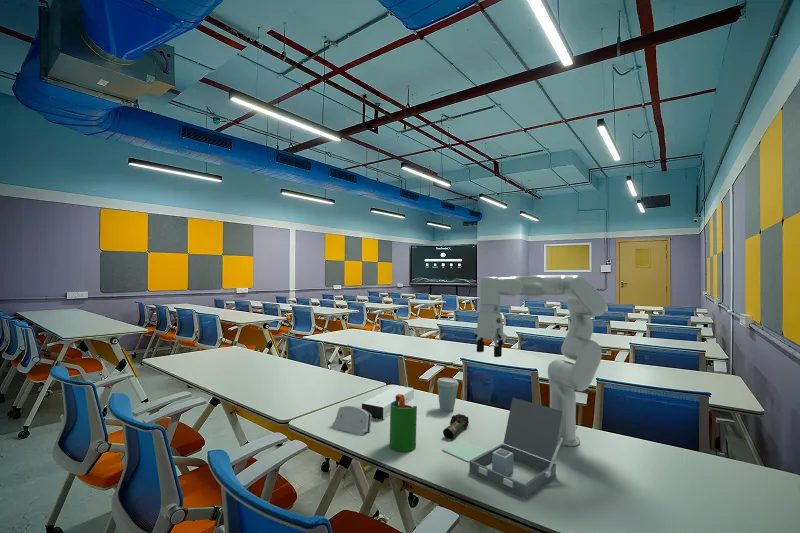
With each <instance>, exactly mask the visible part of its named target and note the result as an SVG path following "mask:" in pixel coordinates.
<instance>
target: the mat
mask: <svg viewBox="0 0 800 533" xmlns="http://www.w3.org/2000/svg"><path fill="white" fill-rule="evenodd" d="M441 451H443V452H444V453H447V454H449V455H451V456H454V457H455V458H458V459H460V460H462V461H465V463H469V464H470V461H471V460H473V459H475V458H476V457H478V456H480V455H482V454H484V453H486V452H487V451H488V449H485V448H482V447H480V446H478V445H474V444H472V443H470V442H467V441H465V440H459V441H457V442H455V443H453V444H450V445H448V446H447V447H444V448H442V449H441Z"/></svg>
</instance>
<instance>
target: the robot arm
mask: <svg viewBox="0 0 800 533" xmlns="http://www.w3.org/2000/svg"><path fill="white" fill-rule="evenodd" d="M479 285H480V286H479V287H480V289H479V290H480V291H479V312H478V318H477V327H475V328H473V334H474V338H475V342H476V353H483V352H484V351H485V341H484V340H489V341H493V344H494V347H493V357H494V358H501V357H502V355H503V354H502V353H503V352H502V351H503V349H502V347H503V346H504V344H505V342H506V340H507V337H508V336H507V334H506V333H505V332H504V324H503V316H502V313H501V310H502V308H501V296H503V297H516V296H528V297H542V298H543V297H567V299H566V307H567V309H568V311H569V312H568V313H569V314H570V319H571V321H570V322H571V323H570V327H569V329H568V332H567V333H566V335H565V337H564V341H563V343H562V345H561V349H560V350H561V354H562V355H563V356H564V357H565V358H567V359H569V360H571V361H575V363H574V362H571V361H568V360H563V359H554V360H551V362H550V363H549V364H548V367H547V378H548V383H549V408H553V409H556V410H560V411H563V414H562V420H561V427H560V433H559V439H558V443H559V440H560V438H563V440H562V442H561V445H560V446H564V447H575V446H578V445H580V443H581V440H580V438H579V436H577V435H576V431H577V429H578V426H577V425H576V423H577V422H576V415H577V414H576V413H577V412H576V411H577V407H576V406H577V405H576V402H577V401H576V400H577V399H576V398H577V397H576V392H575V391H577V392H583V391H585V390H587V389H588V388H589V387H590V386H591V383H593V382H592V381H593V379H594V378H595V375H596V373H597V371H598V368H599V366H600V364H601V361H602V357H603V356H602V355H603V354H602V353H603V352H602V347H601V346H600V344H599V343H598V342H596V341H594V340H592V339H591V338H592V335H593V331H594V323H593V320H592V318H591V316H592V317H598V316H599V317H600V316H602V315H603V314H604V313H606V311H607V301H606V299H605V297H604V296H603V295H602V294H601V293H600V292H599V290H597V288H596V287H594V286H593V285H592V283H591V282H589V281H588V280H587V279H586V278H585V277H583V276H581V275H577V274H569V275H568V274H566V275H565V274H557V275H556V274H555V275H553V274H551V275H546V274H545V275H544V274H543V275H540V274H539V275H527V276H526V275H525V276H482V278H480V284H479Z"/></svg>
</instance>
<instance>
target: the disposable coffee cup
mask: <svg viewBox="0 0 800 533" xmlns="http://www.w3.org/2000/svg"><path fill="white" fill-rule="evenodd" d="M436 385H437V392H438V393H437V395H438V403H439V404H438V405H439V409H440V411H441V412H444V413H451V412H453V411H454V408H455V404H456V400H457V393H458V388H459V382H458V380H457V379H456V378H455V379H454V378H451V377H440V378H437V381H436Z"/></svg>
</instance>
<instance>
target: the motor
mask: <svg viewBox="0 0 800 533" xmlns="http://www.w3.org/2000/svg"><path fill="white" fill-rule="evenodd" d="M398 402H399V405H398ZM417 407H418V406H417V405H413V406H411V405H408V404H406V405H405V399H404V395H401V394H398V395H396V401H394V402H392V403H391V411H390V416H389V418H390V419H389V448H390V449H391V450H393V451H395V452H399V453H407V452H412V451H414V450H416V448H417V418H418V417H417V415H418V414H417V411H418V408H417Z"/></svg>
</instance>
